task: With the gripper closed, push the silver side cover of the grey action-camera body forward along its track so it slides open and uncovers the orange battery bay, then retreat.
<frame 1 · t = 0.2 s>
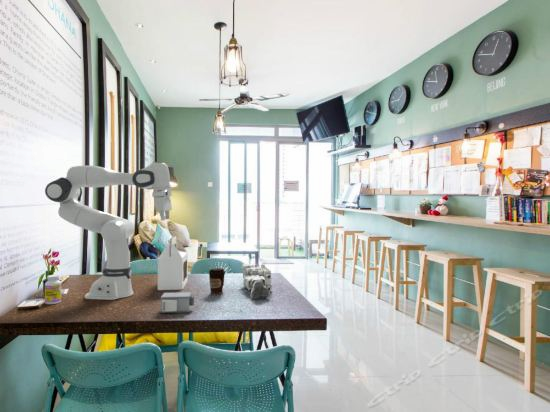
hand: (165, 219, 186), 39 cm above the table, tool pointing down, fingers open, 8 cm apart
coffee cup: (216, 293, 190), on the table
gable box: (173, 285, 207), on the table
spaceship: (258, 291, 194), on the table
camera body: (176, 310, 160), on the table
side door: (169, 305, 155), point 4 cm above the table, slide at 0.0 cm
supplement bottle: (53, 303, 170), on the table
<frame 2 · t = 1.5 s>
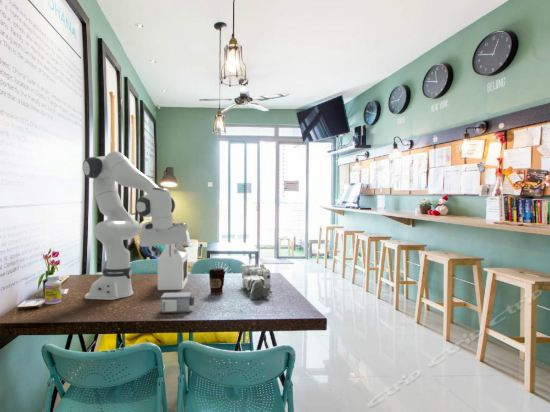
hand: (164, 254, 160), 25 cm above the table, tool pointing down, fingers open, 8 cm apart
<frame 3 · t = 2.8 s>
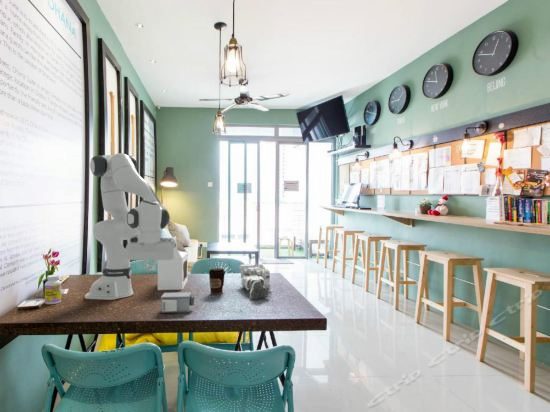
hand: (150, 270, 154), 19 cm above the table, tool pointing down, fingers closed
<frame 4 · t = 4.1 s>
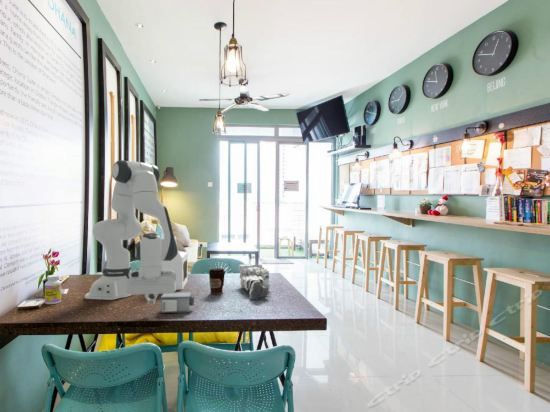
hand: (151, 304, 154), 4 cm above the table, tool pointing down, fingers closed
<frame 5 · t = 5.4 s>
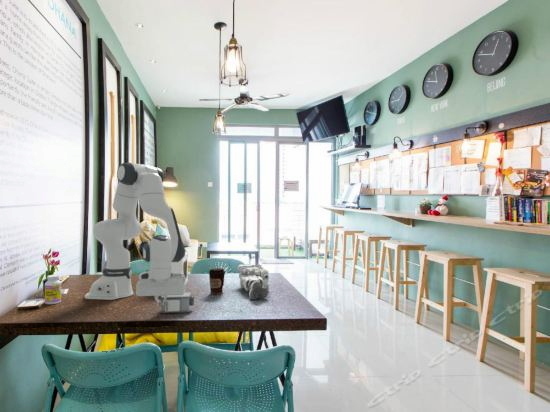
hand: (161, 305, 154), 4 cm above the table, tool pointing down, fingers closed
side door: (172, 305, 155), point 4 cm above the table, slide at 1.2 cm, touching gripper
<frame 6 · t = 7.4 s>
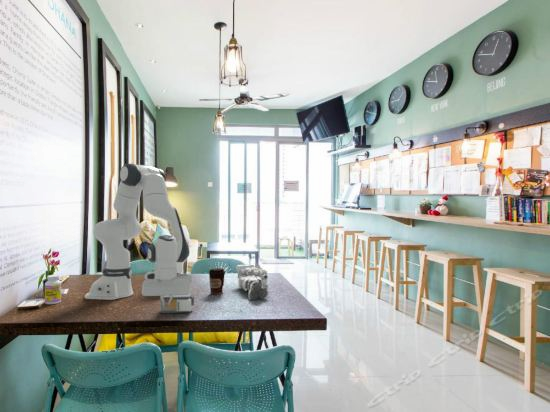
hand: (166, 305, 155), 4 cm above the table, tool pointing down, fingers closed
side door: (183, 305, 156), point 4 cm above the table, slide at 6.0 cm
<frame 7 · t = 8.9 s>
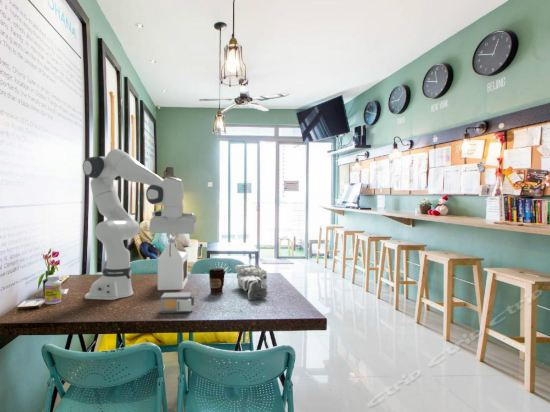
hand: (172, 243, 164), 29 cm above the table, tool pointing down, fingers closed
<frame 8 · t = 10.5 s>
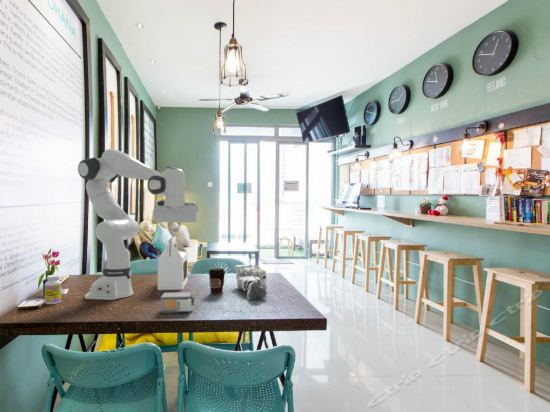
hand: (175, 232, 167), 34 cm above the table, tool pointing down, fingers closed
at the end: side door slide at 6.0 cm; side door touching nothing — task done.
